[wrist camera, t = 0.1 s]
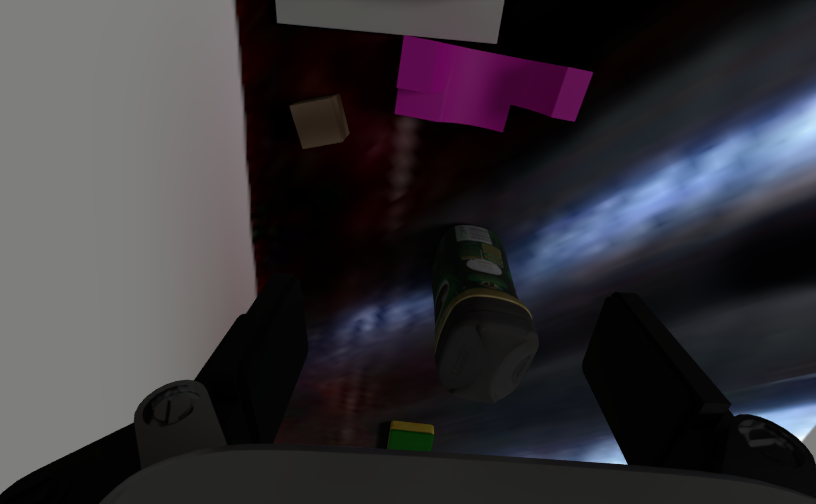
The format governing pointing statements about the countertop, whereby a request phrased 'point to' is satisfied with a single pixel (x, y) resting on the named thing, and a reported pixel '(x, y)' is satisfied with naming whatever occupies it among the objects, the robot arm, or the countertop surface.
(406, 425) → the dish sponge
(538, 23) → the countertop surface
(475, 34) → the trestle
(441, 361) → the coffee jar
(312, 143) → the cube
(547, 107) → the toy block
